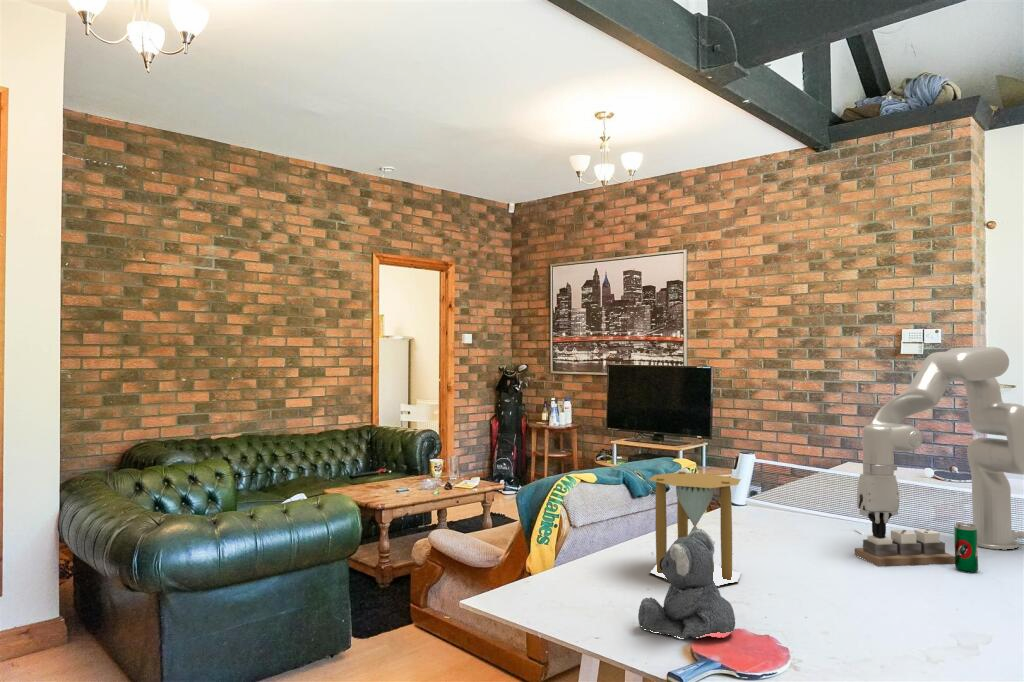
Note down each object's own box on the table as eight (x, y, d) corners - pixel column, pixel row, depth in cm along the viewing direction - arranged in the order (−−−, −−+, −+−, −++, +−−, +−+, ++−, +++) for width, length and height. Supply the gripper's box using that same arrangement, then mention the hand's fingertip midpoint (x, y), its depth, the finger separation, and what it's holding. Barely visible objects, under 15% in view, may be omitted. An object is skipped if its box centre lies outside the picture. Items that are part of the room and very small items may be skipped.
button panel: (927, 552, 199) (926, 535, 199) (955, 563, 188) (955, 545, 188) (854, 555, 196) (854, 537, 197) (879, 566, 186) (878, 547, 186)
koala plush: (671, 607, 156) (670, 519, 156) (750, 626, 144) (749, 532, 145) (632, 630, 142) (631, 534, 143) (716, 654, 131) (715, 549, 132)
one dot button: (882, 547, 194) (882, 534, 194) (892, 552, 190) (892, 538, 190) (867, 548, 193) (867, 535, 194) (877, 552, 189) (877, 539, 189)
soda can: (981, 573, 179) (980, 526, 179) (960, 572, 180) (959, 526, 180) (973, 568, 184) (971, 522, 184) (951, 567, 185) (950, 521, 185)
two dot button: (928, 541, 195) (928, 528, 196) (940, 545, 191) (939, 532, 191) (914, 542, 195) (914, 529, 195) (925, 546, 191) (925, 533, 191)
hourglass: (632, 574, 180) (631, 477, 180) (676, 556, 196) (675, 467, 197) (717, 595, 164) (716, 488, 164) (757, 573, 180) (756, 477, 181)
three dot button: (905, 542, 195) (905, 529, 195) (916, 546, 190) (916, 533, 190) (891, 543, 194) (890, 529, 194) (901, 547, 190) (901, 533, 190)
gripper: (894, 467, 197) (895, 533, 196) (844, 468, 195) (845, 534, 194) (912, 471, 189) (913, 539, 189) (860, 472, 188) (861, 541, 187)
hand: (879, 536), depth 192 cm, fingers closed
